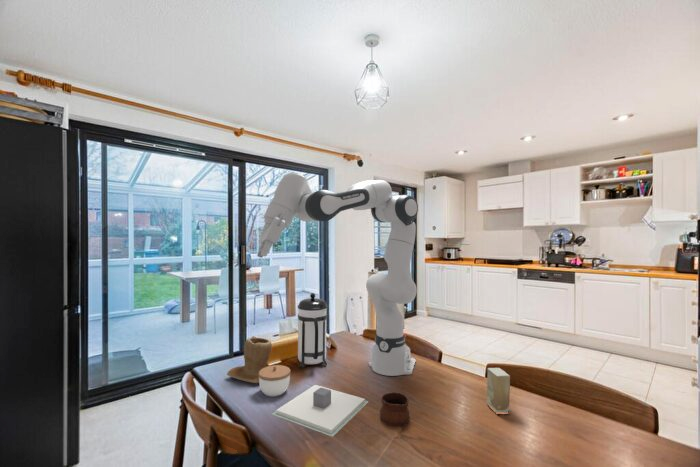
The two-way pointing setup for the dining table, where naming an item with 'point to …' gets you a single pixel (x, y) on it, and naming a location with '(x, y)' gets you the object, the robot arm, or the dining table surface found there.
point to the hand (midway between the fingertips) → (261, 256)
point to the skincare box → (498, 389)
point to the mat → (322, 430)
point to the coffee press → (312, 331)
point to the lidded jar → (274, 380)
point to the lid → (321, 408)
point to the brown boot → (252, 360)
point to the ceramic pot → (395, 410)
